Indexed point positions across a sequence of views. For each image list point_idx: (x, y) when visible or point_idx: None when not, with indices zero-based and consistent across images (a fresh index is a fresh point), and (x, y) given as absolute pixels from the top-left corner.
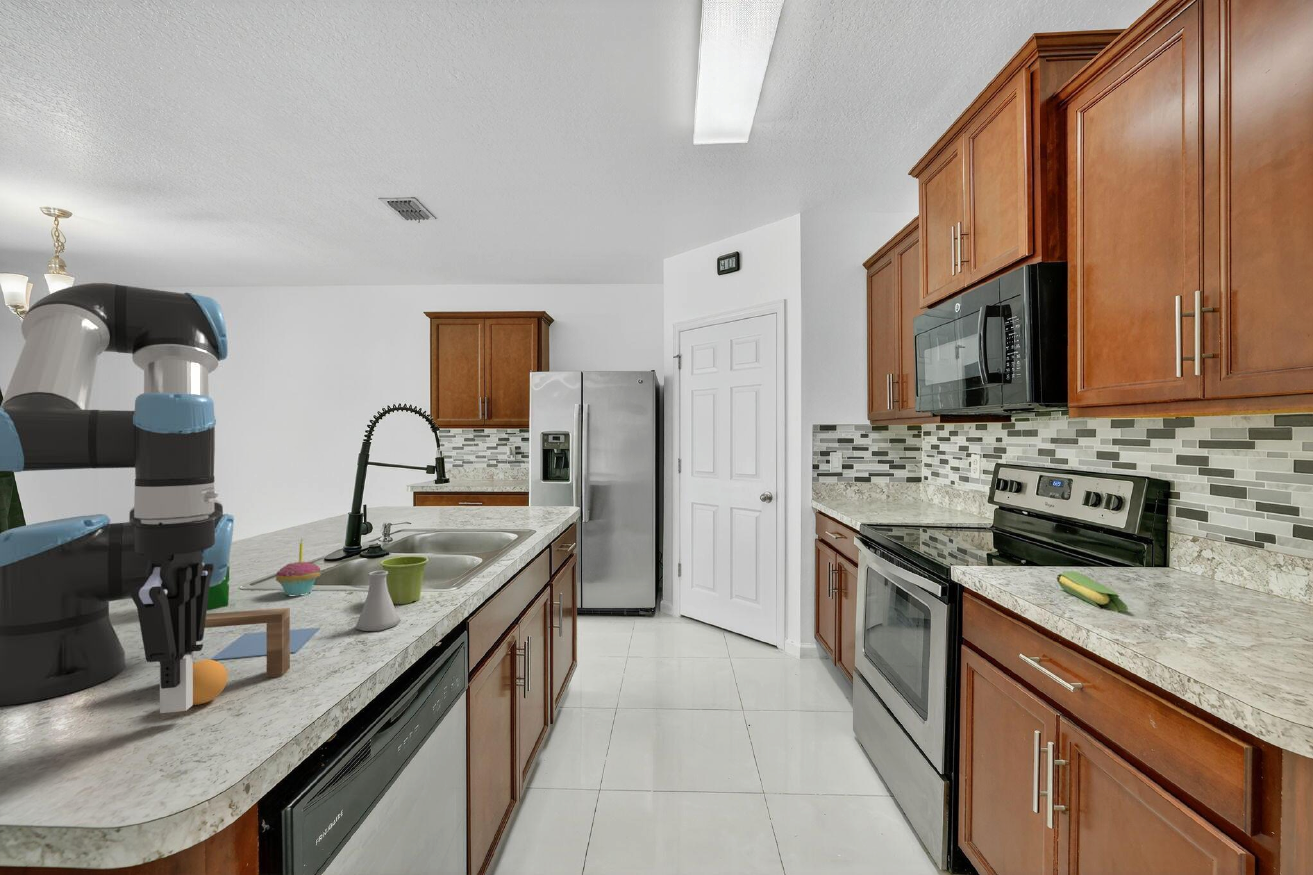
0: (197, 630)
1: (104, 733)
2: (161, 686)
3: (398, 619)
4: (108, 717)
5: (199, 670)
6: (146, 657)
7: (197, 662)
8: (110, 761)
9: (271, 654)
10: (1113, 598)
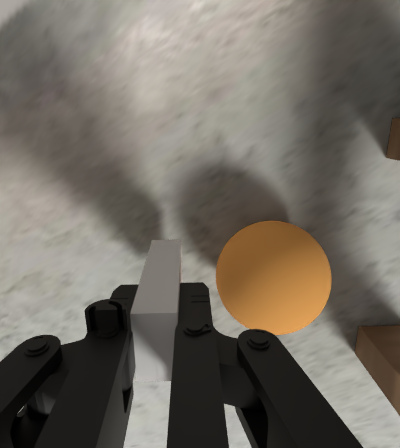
0: (246, 429)
1: (147, 125)
2: (116, 289)
3: None
4: (238, 77)
5: (246, 309)
6: (12, 354)
7: (282, 298)
8: (18, 217)
9: (387, 374)
10: None
